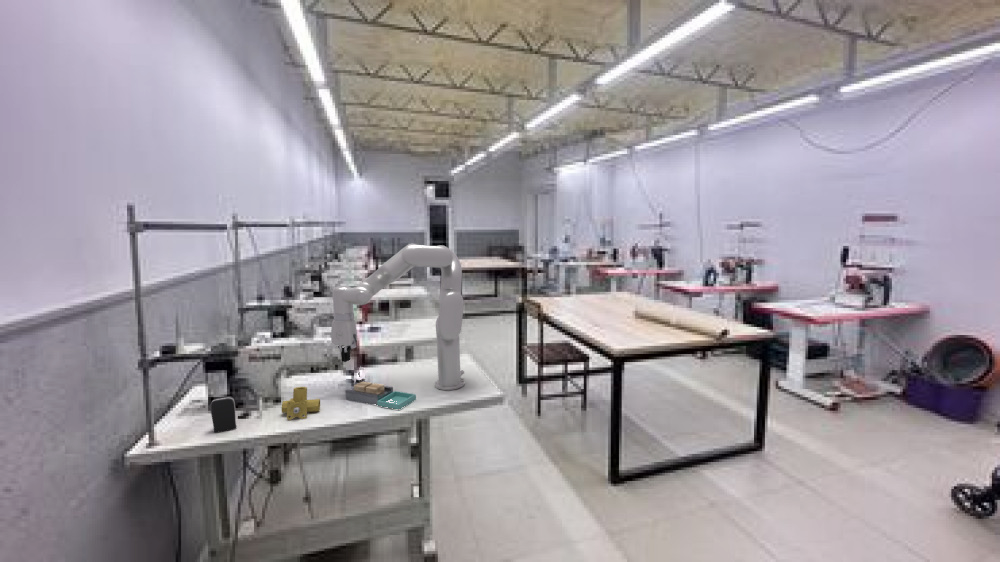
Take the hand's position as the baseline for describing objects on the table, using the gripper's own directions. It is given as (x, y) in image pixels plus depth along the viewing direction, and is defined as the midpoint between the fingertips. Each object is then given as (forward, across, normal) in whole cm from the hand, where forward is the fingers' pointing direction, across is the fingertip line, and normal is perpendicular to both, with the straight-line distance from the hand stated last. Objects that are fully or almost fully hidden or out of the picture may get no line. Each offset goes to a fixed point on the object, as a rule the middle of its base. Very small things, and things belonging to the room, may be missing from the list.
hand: (346, 360), depth 179 cm
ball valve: (+15, -2, -22) cm, 26 cm away
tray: (+14, +24, 0) cm, 28 cm away
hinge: (+15, -12, +18) cm, 26 cm away
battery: (+15, -18, -40) cm, 46 cm away
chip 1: (+11, +8, 0) cm, 14 cm away
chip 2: (+11, +14, 0) cm, 18 cm away
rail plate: (+14, +11, 0) cm, 18 cm away
